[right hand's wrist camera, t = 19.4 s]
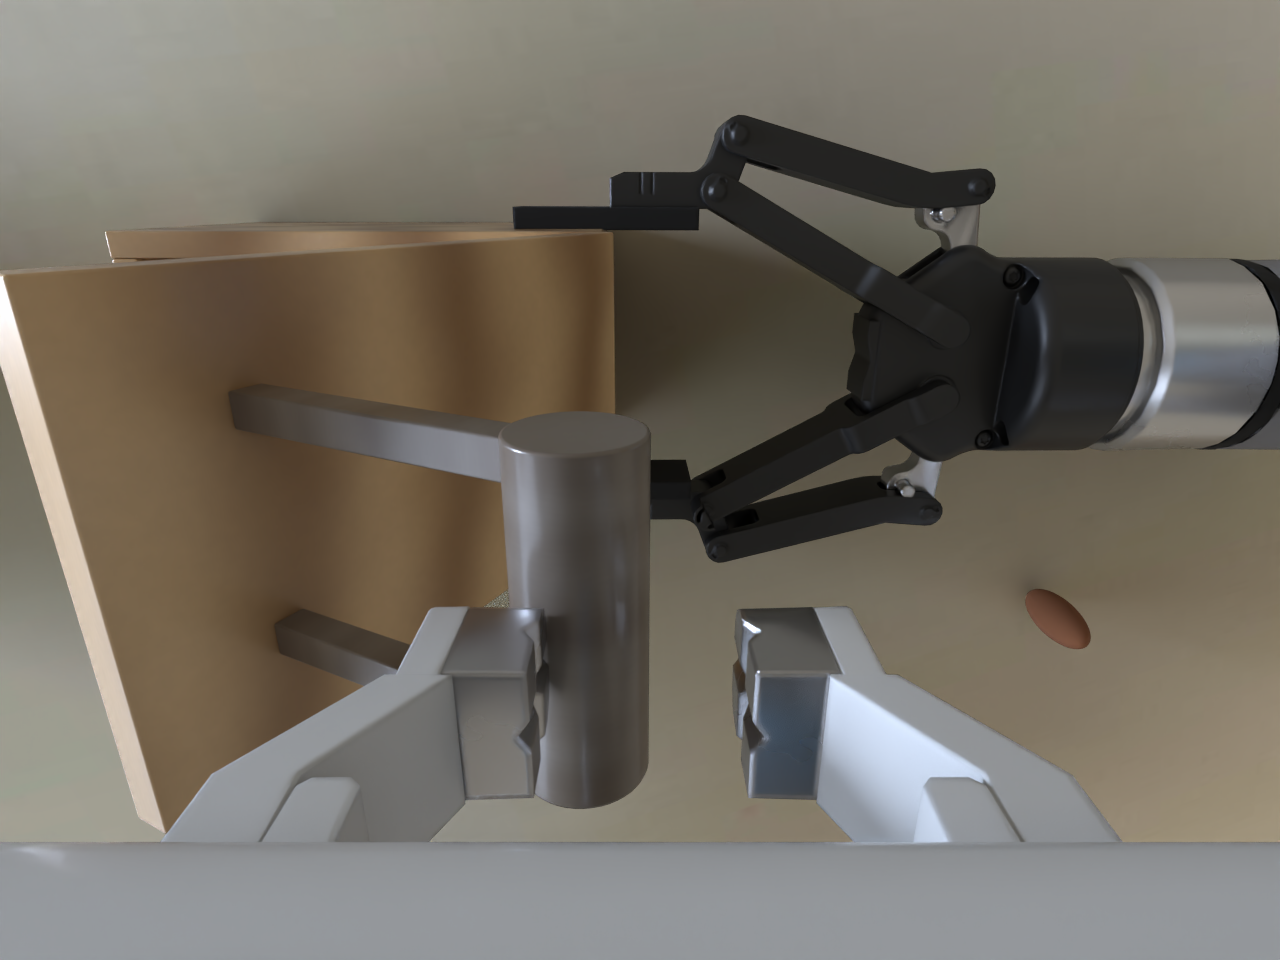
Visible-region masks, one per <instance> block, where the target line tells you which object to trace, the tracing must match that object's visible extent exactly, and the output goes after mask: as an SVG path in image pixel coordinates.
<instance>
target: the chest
mask: <svg viewBox="0 0 1280 960" xmlns="http://www.w3.org/2000/svg"><path fill="white" fill-rule="evenodd" d="M581 232H607V230H603V229H514V223H489V222H254V223H236V224H219V225H202V226H184V227H167V228H150V229H133V230H115V231H106V232H105V235H106V239H107V243H108V247H109V252H110V256H111V258H115V259H113V261H112V262H113V263H121V262H136V261H152V260H167V259H182V258H198V257H213V256H228V255H244V254H259V253H274V252H290V251H305V250H320V249H336V248H351V247H366V246H382V245H397V244H412V243H428V242H443V241H458V240H474V239H489V238H504V237H520V236H535V235H550V234H566V233H581Z"/></svg>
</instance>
